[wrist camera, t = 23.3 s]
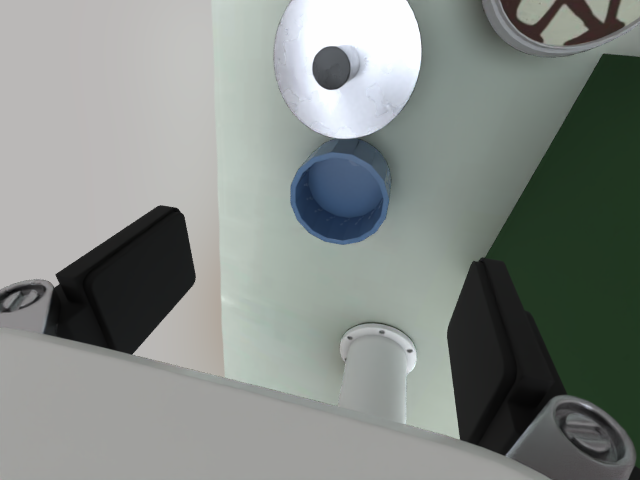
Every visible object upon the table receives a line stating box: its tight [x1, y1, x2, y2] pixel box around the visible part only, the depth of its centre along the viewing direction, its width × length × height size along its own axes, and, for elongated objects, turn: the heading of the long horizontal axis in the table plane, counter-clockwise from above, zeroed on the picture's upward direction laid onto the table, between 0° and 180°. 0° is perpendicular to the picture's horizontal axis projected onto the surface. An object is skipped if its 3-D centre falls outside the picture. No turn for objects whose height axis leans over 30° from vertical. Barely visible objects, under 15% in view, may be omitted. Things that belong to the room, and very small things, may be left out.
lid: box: [274, 0, 422, 139], centre depth 24 cm, size 12×12×6 cm
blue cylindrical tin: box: [291, 138, 391, 245], centre depth 39 cm, size 11×11×6 cm
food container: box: [482, 0, 640, 57], centre depth 25 cm, size 12×6×10 cm, turn 75°
